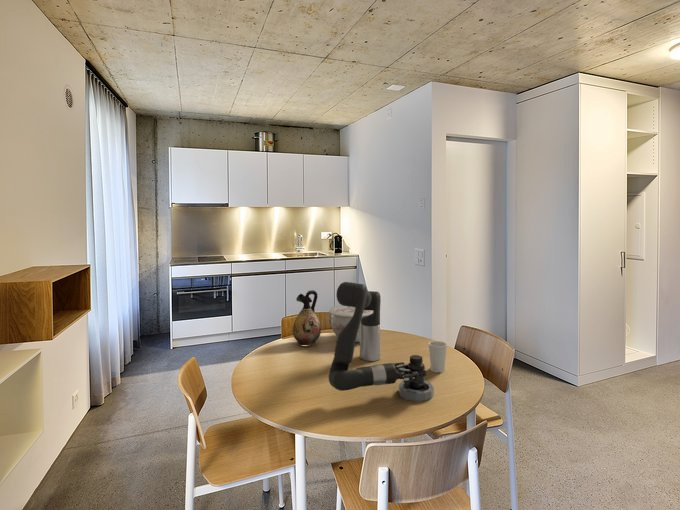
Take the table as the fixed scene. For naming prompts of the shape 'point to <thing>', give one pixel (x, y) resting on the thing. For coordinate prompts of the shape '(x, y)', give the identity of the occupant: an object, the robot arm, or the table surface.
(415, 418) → the table surface
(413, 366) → the supplement bottle
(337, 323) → the chamber pot
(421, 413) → the table surface
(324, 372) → the table surface
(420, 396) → the dish
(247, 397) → the table surface
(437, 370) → the cup
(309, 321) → the ceramic jug
